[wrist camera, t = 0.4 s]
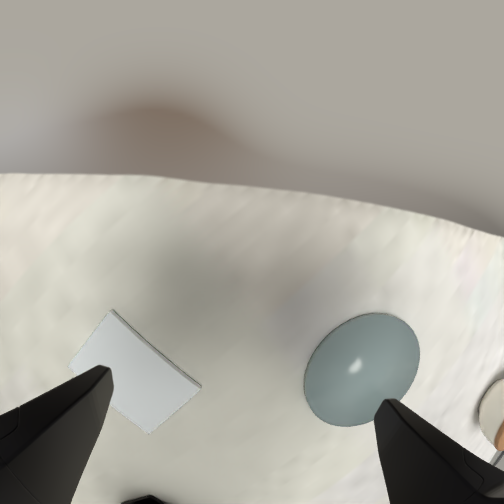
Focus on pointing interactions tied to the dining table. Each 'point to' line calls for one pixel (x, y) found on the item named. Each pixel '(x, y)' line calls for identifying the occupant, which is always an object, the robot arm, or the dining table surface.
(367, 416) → the coaster
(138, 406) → the folded cloth
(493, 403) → the lidded jar
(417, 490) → the robot arm
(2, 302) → the dining table surface
